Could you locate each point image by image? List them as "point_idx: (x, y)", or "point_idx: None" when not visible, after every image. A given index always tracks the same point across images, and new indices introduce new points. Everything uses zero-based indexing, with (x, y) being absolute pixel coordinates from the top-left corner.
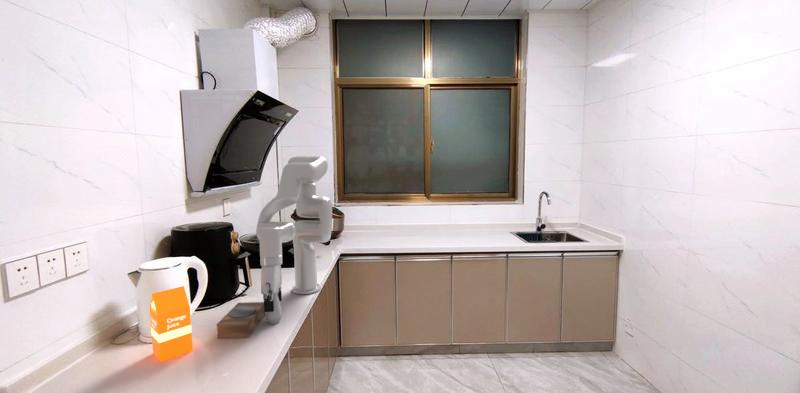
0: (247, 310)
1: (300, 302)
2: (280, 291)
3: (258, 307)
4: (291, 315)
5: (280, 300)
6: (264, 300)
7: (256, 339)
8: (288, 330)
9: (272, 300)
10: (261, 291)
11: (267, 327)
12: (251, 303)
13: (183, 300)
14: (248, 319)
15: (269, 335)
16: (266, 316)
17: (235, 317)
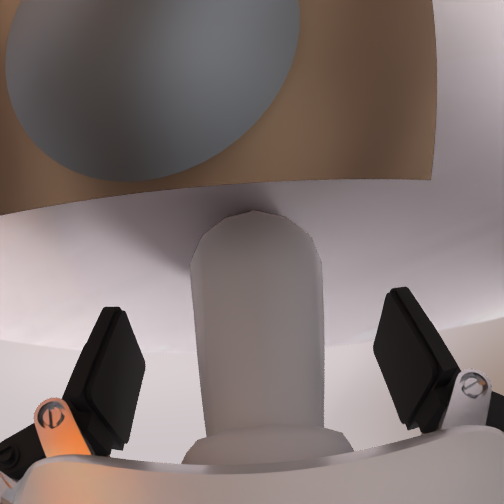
0: (146, 77)
1: (486, 299)
2: (405, 421)
3: (287, 154)
4: (339, 316)
5: (373, 349)
6: (40, 416)
7: (27, 236)
8: (149, 349)
9: (114, 445)
10: (17, 493)
11: (160, 238)
12: (408, 36)
13: None
14: (5, 195)
15: (77, 283)
16: (203, 243)
17: (11, 53)
